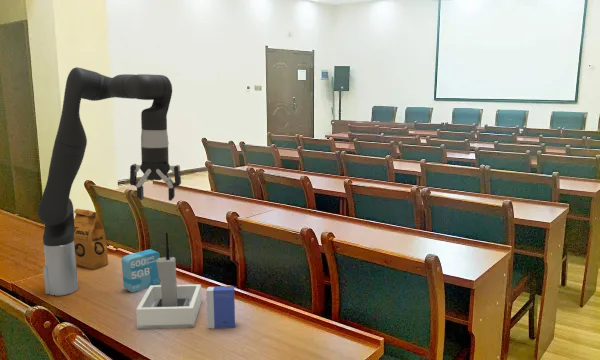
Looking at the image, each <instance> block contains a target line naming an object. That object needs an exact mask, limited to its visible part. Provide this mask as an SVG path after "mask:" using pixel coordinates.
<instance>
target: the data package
mask: <svg viewBox="0 0 600 360" xmlns="http://www.w3.org/2000/svg"><path fill="white" fill-rule="evenodd" d="M158 258H161V254H160V252H158V251H156V250H153V249H151V248H150V249H144V250H142V251H138V252H134V253H130V254H125V255H124V256H123V257H122V259H121V269H122V270H121V271H122V285H123V288H124V290H127V291H129V292H131V293H135V292H136V293H137V292H139V291H141V290H142V291H143V290H145V289H148V288H149V287H150V285H160V284H161V280H160V278H159V275H158V268H157V260H158Z"/></svg>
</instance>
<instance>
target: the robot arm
mask: <svg viewBox="0 0 600 360" xmlns="http://www.w3.org/2000/svg"><path fill="white" fill-rule="evenodd" d="M172 96H173V85H172V82H171V80H170V78H169V77H168V76H167V75H164V74H163V75H162V74H150V73H148V74H147V73H146V74H145V73H144V74H142V73H138V74H130V73H127V74H118V75H115V76H113V77H110V76H107V75H104V74H101V73H100V72H97V71H95V70H89V69H85V68H82V67H73V68H72V69H70V71H69V73H68V75H67V77H66V82H65V88H64V95H63V101H62V109H61V114H60V119H59V123H58V128H57V132H56V136H55V140H54V143H53V148H52V153H51V157H50V162H49V167H48V168H49V169H48V175H47V181H46V184H45V187H44V189H43V192H42V195H41V198H40V201H39V204H38V207H37V216H38V218H39V221H40V222H41V223H43V225H44V231H43V235H42V241H43V244H42V245H43V253H44V261H45V262H44V263H45V265H44V266H43V267H42V269H43V270H42V271H43V278H44V279H43V280H44V289H45V295H51V296H54V295H55V296H56V297H58V296H65V295H66V296H67V295H69V294H73V293H76V292H77V291H78V289H79V281H78V280H79V279H78V269H77V264H76V256H75V245H74V230H75V225H74V218H75V213H74V211H75V210H74V204H73V201H72V199H71V198H70V194H71V189H72V186H73V183H74V181H75V179H76V178H77V177H76V176H77V174H78V173H79V170H80V168H81V166H82V163H83V160H84V157H85V152H86V148H87V145H88V139H87V134H86V131H85V128H84V126H83V122H82V121H81V116H80V107H81V102H82V101H81V100H82V99H83V100H88V101H91V102H92V101H93V102H95V101H102V100H107V99H113V98H114V99H115V98H120V99H131V100H143V101H152V100H153V101H152V103H151V106H150V107H147V108H145V109H143V110H142V111H141V113H140V117H141V120H140V122H141V124H140V125H141V133H140V135H141V136H140V149H141V151H140V152H141V153H140V154H141V155H140V157H141V164H136V163H133V164H131V165H130V169H129V170H130V171H129V173H130V174H129V184H130V186H134V187H136V197H137V198H138V199H139V201H143V200H144V183H145V182H146V181H147V180H149V181H153V180H155V181H161V180H162V181H163V182H164V183H165V184H166V185H167V187H168V191H167V192H168V193H167V194H168V201H170V202H171V201H173V199H175V195H176V194H175V188H177V187H179V186H180V185H181V184H182V179H181V178H182V177H181V167H180V165H179V164H176V165H170V162H169V135H168V118H167V117H168V112H169V108H170V103H171V100H172ZM139 171H141V172H142V177H141V178H140V179H139V181H138V180H137V179H138V177H137V174H138V172H139ZM170 171H171V172H172V174H174V175H173V176H174V181H173V180H172V178H171V176H170V175H169V172H170Z"/></svg>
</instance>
